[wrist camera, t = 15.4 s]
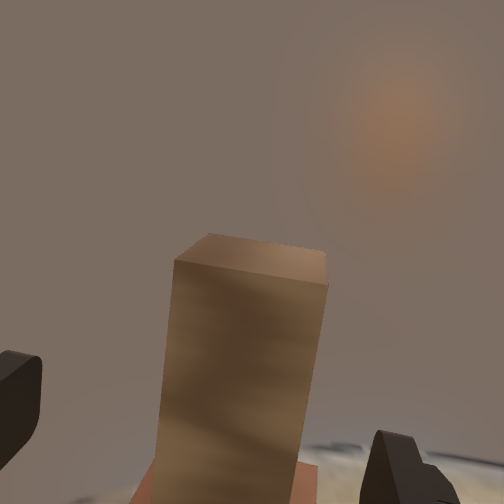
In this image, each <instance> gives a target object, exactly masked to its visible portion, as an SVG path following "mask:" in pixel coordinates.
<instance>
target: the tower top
mask: <svg viewBox="0 0 504 504" xmlns="http://www.w3.org/2000/svg"><path fill="white" fill-rule="evenodd" d="M154 464H155V459H154V461H153V463H152V465H151V466H150V468H149V470H148V471H147V473H146V475H145V477H144V478H143V480H142V482H141V484H140V485H139V487H138V489H137V491H136V492H135V494H134V496H133V498H132V499H131V501H130V503H129V504H151V495H152V485H153V475H154ZM317 467H318V466H314V465H310V464H306V463H302V462H298V461H297V463H296V469H295V475H294V480H293V486H292V491H291V497H290V502H289V504H316V493H317Z"/></svg>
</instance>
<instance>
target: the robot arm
mask: <svg viewBox="0 0 504 504" xmlns="http://www.w3.org/2000/svg"><path fill="white" fill-rule="evenodd" d="M41 380H42V361H41V359H40V357H38V356H34V355H30V354H25V353H20V352H15V351H10V350H6V351H4V352H2V353H1V354H0V470H1V469H2V468H3V467H4V466H5V465H6V464H7V463H8V462H9V461H10V460H11V459H12V457H14V455H15V454H16V453H17V452H18V451H19V450H20V449H21V448H22V447H23V446H24V445H25V444H26V443H27V441H28V440H29V439H30V438H31V436H32V434H33V433H34V430H35V428H36V426H37V423H38V419H39V413H40V397H41ZM359 504H460V501H459V499H458V497H457V494H456V492H455V490H454V488H453V485H452V484H451V483H450V482H449V481H448V479H447V478H446V477H445V476H444V475H443V474H442V473H441V472H440V470H439V469H438V468H437V467H436V466H434V465H429V464H425V463H423V462H422V459H421V457H420V454H419V451H418V449H417V446H416V443H415V441H414V439H413V437H410V436H406V435H400V434H397V433H392V432H387V431H382V430H378V431H377V432H376V434H375V437H374V440H373V444H372V448H371V452H370V456H369V460H368V463H367V467H366V471H365V475H364V479H363V483H362V487H361V492H360V499H359Z"/></svg>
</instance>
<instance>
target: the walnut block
mask: <svg viewBox="0 0 504 504" xmlns="http://www.w3.org/2000/svg"><path fill="white" fill-rule="evenodd" d="M328 286H329V284H328V275H327V265H326V256H325V251H319V250H312V249H306V248H300V247H293V246H287V245H281V244H275V243H268V242H262V241H256V240H249V239H243V238H237V237H230V236H224V235H218V234H211V233H208V234H207V235H206V236H205V237H203V238H202V239H201V240H199V241H198V242H197V243H195V244H194V245H193V246H192V247H190V248H189V249H188V250H186V251H185V252H184V253H182V254H181V255H180V256H179V257H177V258H176V259H175V261H174V270H173V281H172V291H171V301H170V311H169V321H168V332H167V342H166V352H165V363H164V373H163V383H162V393H161V403H160V413H159V424H158V434H157V444H156V454H155V464H154V475H153V485H152V495H151V504H289V502H290V497H291V491H292V486H293V480H294V475H295V469H296V463H297V458H298V452H299V447H300V441H301V435H302V430H303V424H304V419H305V414H306V408H307V402H308V396H309V391H310V386H311V380H312V375H313V369H314V364H315V358H316V352H317V347H318V341H319V336H320V330H321V325H322V319H323V313H324V308H325V303H326V297H327V291H328Z"/></svg>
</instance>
